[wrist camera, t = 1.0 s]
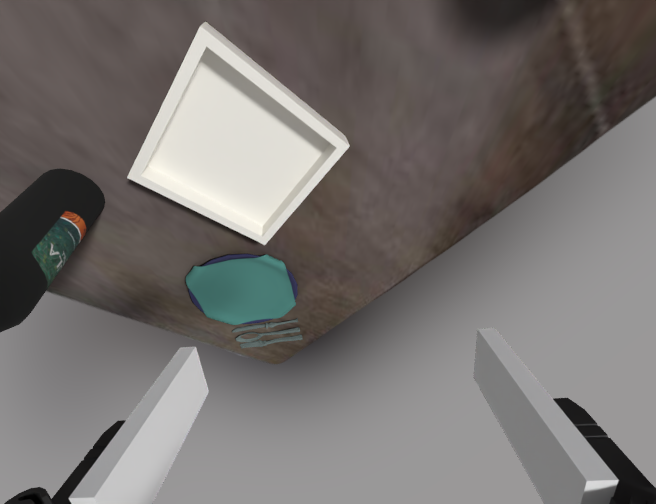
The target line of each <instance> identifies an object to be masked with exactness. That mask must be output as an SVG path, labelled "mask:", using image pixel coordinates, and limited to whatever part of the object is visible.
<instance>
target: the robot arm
mask: <svg viewBox="0 0 656 504" xmlns="http://www.w3.org/2000/svg"><path fill="white" fill-rule="evenodd" d="M474 379H475V381H476V382H477V384H478V386H479V388H480V390H481V392H482V393H483V395H484V397H485V399H486V401H487V402H488V404H489V406H490V408H491V409H492V411H493V413H494V415H495V417H496V418H497V420H498V422H499V424H500V426H501V427H502V429H503V431H504V433H505V435H506V436H507V438H508V440H509V442H510V444H511V445H512V447H513V449H514V451H515V452H516V454H517V456H518V458H519V460H520V461H521V463H522V465H523V467H524V469H525V470H526V472H527V474H528V476H529V477H530V479H531V481H532V483H533V485H534V487H535V488H536V490H537V492H538V494H539V495H540V497H541V499H542V501H543V503H544V504H656V488H655V487H654V486H653V485H652V484H651V483H650V482H649V481H648V480H647V479H646V477H645V476H643V474H642V473H641V472H640V471H639V470H638V469H637V468H636V467H635V465H634V464H633V463H632V462H631V461H630V460H629V459H628V458H627V456H626V455H625V454H624V453H623V452H622V451H621V450H620V449H619V448H618V446H617V445H616V444H615V443H614V442H613V441H612V440H611V438H608V436H607V434H606V433H605V432H604V431H603V430H602V429H601V427H600V426H598V425H597V423H596V422H595V421H594V420H593V418H592V417H591V416H590V415H589V414H588V413H587V412H586V411H585V410H584V409H583V408H581V407H580V406H579V405H577V404H576V403H574V402H573V401H571V400H570V399H568V398H558V399H552V397H551V396H550V395H549V394H548V392H547V391H546V390H545V389H544V388H543V386H542V385H541V384H540V383H539V381H538V380H537V379H536V378H535V376H534V375H533V374H532V373H531V372H530V370H529V369H528V368H527V367H526V365H525V364H524V363H523V362H522V361H521V359H520V358H519V357H518V356H517V354H516V353H515V352H514V351H513V349H512V348H511V347H510V346H509V344H508V343H507V342H506V341H505V340H504V338H503V337H502V336H501V335H500V333H498V331H497V330H496V329H495V328H484V329H477V342H476V354H475V367H474ZM208 392H209V391H208V387H207V384H206V380H205V377H204V374H203V370H202V367H201V363H200V360H199V356H198V353H197V350H196V347H184V348H180V349H179V350H178V351H177V353H176V354H175V355H174V357H173V358H172V359H171V361H170V362H169V363H168V365H167V366H166V368H165V369H164V370H163V372H162V373H161V374H160V376H159V377H158V378H157V380H156V381H155V382H154V384H153V385H152V386H151V388H150V389H149V390H148V392H147V393H146V395H145V396H144V397H143V398H142V400H141V401H140V402H139V404H138V405H137V407H136V408H135V409H134V411H133V412H132V413H131V415H130V416H129V417H128V419H127V420H126V421H117V422H116V423H115V424H114V425H113V426H111V427H110V428H109V429H108V430H107V431H105V432H104V433H103V434H102V436H101V437H100V438H99V440H98V441H97V442H96V443H95V445H94V446H93V449H91V450H90V451H89V452H88V454H87V455H86V456H85V457H84V460H83V461H81V463H80V464H79V465H78V466H77V468H76V469H75V470H74V471H73V473H72V474H71V475H70V476H69V478H68V479H67V480H66V482H65V483H64V484H63V485H62V487H61V488H60V489H59V490H58V492H57V493H56V494H55V495H54V497H53V498H52V499H51V498H50V496H49V495H48V493H47V491H46V490H45V489H43V488H40V487H38V488H31V489H28V490H26V491H24V492H21V493H19V494H18V495H16V496H14V497H13V498H11V499H10V500H8V501H7V502H6V503H5V504H153V502H154V500H155V498H156V495H157V494H158V491H159V490H160V488H161V486H162V484H163V481H164V480H165V478H166V476H167V473H168V472H169V470H170V468H171V466H172V464H173V462H174V460H175V458H176V456H177V454H178V452H179V450H180V448H181V446H182V444H183V442H184V440H185V438H186V436H187V434H188V432H189V430H190V428H191V426H192V424H193V422H194V420H195V418H196V416H197V414H198V412H199V410H200V408H201V406H202V404H203V402H204V400H205V398H206V396H207V394H208Z"/></svg>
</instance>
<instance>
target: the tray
mask: <svg viewBox="0 0 656 504" xmlns="http://www.w3.org/2000/svg"><path fill="white" fill-rule="evenodd" d="M349 146H350V145H349V143H348V141H347V139H346V137H345V135H344V134H342V133H341V132H340V131H339V130H338V129H336V128H335V127H334V126H333V125H331V124H330V123H329V122H328V121H327V120H325V119H324V118H323V117H322V116H320V115H319V114H318V113H317V112H316V111H314V110H313V109H312V108H311V107H309V106H308V105H307V104H306V103H305V102H303V101H302V100H301V99H300V98H299V97H297V96H296V95H295V94H294V93H292V92H291V91H290V90H289V89H288V88H286V87H285V86H284V85H283V84H281V83H280V82H279V81H278V80H277V79H275V78H274V77H273V76H272V75H270V74H269V73H268V72H267V71H266V70H264V69H263V68H262V67H261V66H259V65H258V64H257V63H256V62H255V61H253V60H252V59H251V58H250V57H249V56H247V55H246V54H245V53H244V52H242V51H241V50H240V49H239V48H238V47H236V46H235V45H234V44H233V43H231V42H230V41H229V40H228V39H227V38H225V37H224V36H223V35H222V34H220V33H219V32H218V31H217V30H216V29H214V28H213V27H212V26H211V25H209V24H208V23H207V22H204V23H203V24H202V25H201V26H200V28H199V30H198V32H197V34H196V36H195V38H194V40H193V42H192V44H191V46H190V48H189V50H188V53H187V55H186V57H185V59H184V61H183V63H182V65H181V67H180V69H179V71H178V73H177V75H176V77H175V79H174V82H173V84H172V86H171V88H170V90H169V92H168V94H167V96H166V98H165V100H164V102H163V104H162V106H161V109H160V111H159V113H158V115H157V117H156V119H155V121H154V123H153V125H152V127H151V129H150V131H149V133H148V136H147V138H146V140H145V142H144V144H143V146H142V148H141V150H140V152H139V154H138V156H137V158H136V160H135V162H134V165H133V167H132V169H131V171H130V173H129V175H128V177H127V178H129V179H131V180H133V181H135V182H137V183H139V184H141V185H143V186H145V187H147V188H149V189H151V190H153V191H155V192H157V193H159V194H161V195H163V196H165V197H167V198H169V199H172V200H174V201H176V202H178V203H180V204H182V205H184V206H186V207H188V208H190V209H192V210H194V211H196V212H198V213H200V214H202V215H204V216H206V217H208V218H210V219H212V220H215V221H217V222H219V223H221V224H223V225H225V226H227V227H229V228H231V229H233V230H235V231H237V232H239V233H241V234H243V235H245V236H247V237H249V238H251V239H253V240H255V241H258V242H260V243H262V244H264V245H265V244H266V243H267V242H268V241H269V240H270V238H271V237H272V236H273V235H274V234H275V233H276V231H277V230H278V229H279V228H280V227H281V226H282V224H283V223H284V222H285V221H286V220H287V219H288V217H289V216H290V215H291V214H292V213H293V212H294V211H295V209H296V208H297V207H298V206H299V205H300V204H301V202H302V201H303V200H304V199H305V198H306V197H307V195H308V194H309V193H310V192H311V191H312V190H313V188H314V187H315V186H316V185H317V184H318V183H319V181H320V180H321V179H322V178H323V177H324V176H325V174H326V173H327V172H328V171H329V170H330V169H331V167H332V166H333V165H334V164H335V163H336V162H337V160H338V159H339V158H340V157H341V156H342V155H343V153H344V152H345V151H346V150H347V149H348V148H349Z"/></svg>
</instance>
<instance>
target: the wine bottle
mask: <svg viewBox="0 0 656 504" xmlns="http://www.w3.org/2000/svg"><path fill="white" fill-rule="evenodd" d="M104 204H105V199H104V195H103V193H102V191H101V190H100V188H99V187H98V186H97V185H96V184H95V183H94V182H93V181H92V180H91V179H89V178H87V177H86V176H84V175H82V174H80V173H77V172H74V171H72V170H65V169H54V170H50V171H48V172H46V173H44V174H43V175H41V176H40V177H39V178H38V179H37V180H36V181H35V182H34V183H33V184H31V185H30V186H29V187H28V188H27V189H26V190H25V191H24V192H23V193H21V194H20V195H19V196H18V197H17V198H16V199H15V200H14V201H13V202H11V203H10V204H9V205H8V206H7V207H6V208H5V209H4V210H3V211H1V212H0V332H2V331H4V330H7V329H9V328H12V327H14V326H16V325H19V324H20V323H21V322H22V321H23V320H24V319H25V318H26V317H27V316H28V315H29V314H30V313H31V311H32V310H33V309H34V307H35V306H36V304H37V303H38V301H39V300H40V299H41V297H42V296H43V294H44V293H45V291H46V290H47V288H48V287H49V286H50V284H51V283H52V281H53V280H54V278H55V277H56V276H57V274H58V273H59V271H60V270H61V268H62V267H63V266H64V264H65V263H66V261H67V260H68V258H69V257H70V255H71V254H72V253H73V251H74V250H75V248H76V247H77V245H78V244H79V243H80V241H81V240H82V238H83V237H84V235H85V234H86V233H87V231H88V230H89V228H90V227H91V225H92V224H93V222H94V221H95V220H96V218H97V217H98V215H99V214H100V212H101V211H102V210H103V208H104Z"/></svg>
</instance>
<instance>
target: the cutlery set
mask: <svg viewBox="0 0 656 504" xmlns="http://www.w3.org/2000/svg"><path fill="white" fill-rule="evenodd" d="M186 284H187V286H188V288H189V290H188V291H189V294H190V297H191V300H192V302H193V303H194V304H195V305H196V306H197V307H198V308H199V309H200V311H202V312H203V313H205V315H206V316H207V317H208V318H212V319H214V320H217V321H221V322H225V323H227V324H231V325H237V324H252V323H260V322H264V321H268V320H271V319H274V318H280V317H282V316H284V315H285V314H286V313H288V312H289V311H290V310H291V309H292V308H293V307H294V306H295V305H296V303H295V299H296V297H297V283H296V281H295V279H294V277H293V275H292V273H291V272H290V271H289V270H287V269H286V267H285V264H284V263H283V262H282V261H280V260H278V259H275V258H273V257H272V256H268V254H267V255H264V256H257V255H252V254H232V255H226V256H222V257H219V258H215V259H212V260H210V261H209V262H207V263H205V264H204V265H202V266H201V267H197V266H194V267H193V269H192V270H191V271H190V272H189V274H188V275H187V276H186ZM290 322H298V319H296V320H291V321H286V322H280V323H272V322H271V323H269V324H268V323H265V324H262V325H253V326H246V327H241V328H236V329H234V330H232V332H238V331H244V330H250V329H256V328H262V327H266V328H268V327H274V326H276V325H281V324H285V323H290ZM293 332H300V328H299V327H298V328H293V329H289V330H283V331H277V332H270V333H255V332H248V333H244V334H241V335H245V334H253V333H255V334H258V336H257V337H256V338H253V339H242V338H241V337H240V336H241V335H240V336H238V337H237V338H236V341H239V342H249V343H244V344H240V346H241V345H242V346H241V348H245V347H258V346H259V347H263V346H266V344H271V343H275V342H282V341H293V340H301V339H302V335H298V336H293V337H284V338H278V339H274V340H270V341H261V340H258V339H259V338H261V337H262V335H273V334H285V333H293ZM255 340H258V341H255ZM251 341H253V342H251ZM243 346H244V347H243Z"/></svg>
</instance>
